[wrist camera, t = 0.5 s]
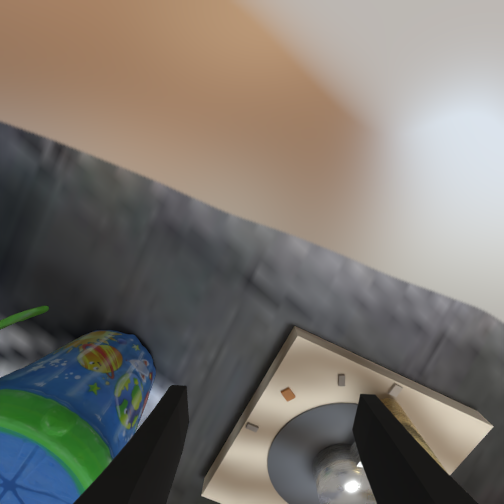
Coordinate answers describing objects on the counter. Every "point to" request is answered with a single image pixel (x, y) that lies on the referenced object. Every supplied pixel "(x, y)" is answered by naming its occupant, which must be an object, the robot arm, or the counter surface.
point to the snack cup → (69, 414)
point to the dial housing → (324, 422)
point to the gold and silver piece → (354, 467)
